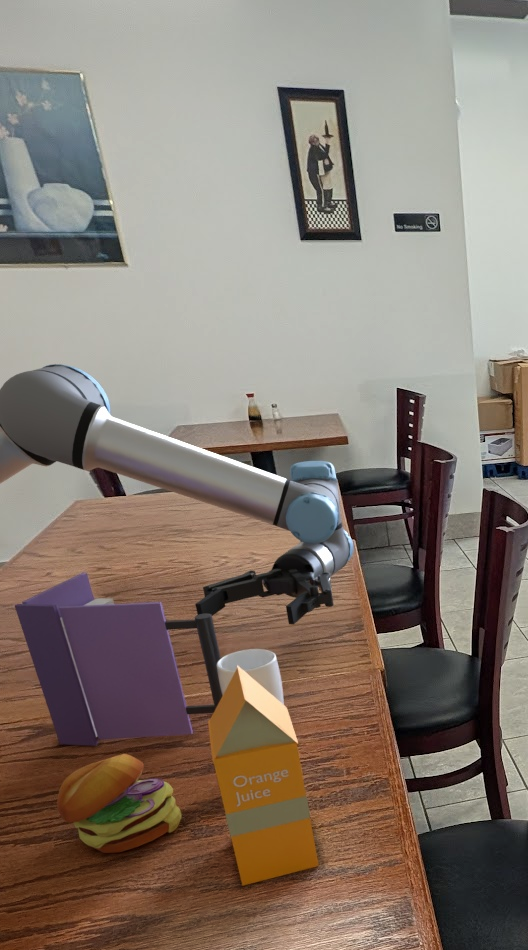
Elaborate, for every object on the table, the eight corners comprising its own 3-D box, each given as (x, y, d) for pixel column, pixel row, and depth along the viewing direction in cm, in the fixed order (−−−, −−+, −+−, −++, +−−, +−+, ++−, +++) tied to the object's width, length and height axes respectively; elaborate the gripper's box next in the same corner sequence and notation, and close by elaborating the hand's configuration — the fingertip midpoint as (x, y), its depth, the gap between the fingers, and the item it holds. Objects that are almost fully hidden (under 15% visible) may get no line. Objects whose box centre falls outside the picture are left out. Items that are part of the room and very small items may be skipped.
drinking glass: (300, 753, 105) (280, 646, 99) (293, 781, 99) (272, 668, 93) (245, 759, 104) (221, 650, 98) (235, 787, 98) (209, 673, 92)
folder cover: (102, 735, 110) (63, 604, 102) (238, 727, 111) (210, 597, 103) (96, 742, 108) (56, 610, 100) (234, 734, 109) (205, 603, 101)
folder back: (59, 744, 109) (14, 605, 100) (119, 700, 120) (82, 572, 112) (95, 746, 108) (52, 606, 99) (151, 701, 120) (117, 572, 111)
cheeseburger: (169, 855, 86) (121, 778, 82) (74, 880, 87) (21, 806, 82) (198, 800, 95) (157, 729, 91) (112, 824, 96) (67, 754, 91)
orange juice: (240, 886, 82) (199, 707, 73) (234, 838, 89) (195, 671, 80) (320, 865, 84) (289, 691, 76) (307, 821, 92) (278, 657, 83)
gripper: (377, 593, 137) (331, 641, 118) (235, 589, 139) (168, 635, 120) (372, 549, 133) (324, 591, 114) (227, 546, 136) (156, 587, 117)
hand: (244, 614), depth 117 cm, fingers open, 13 cm apart
